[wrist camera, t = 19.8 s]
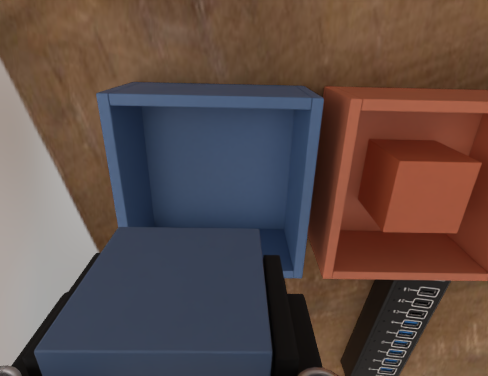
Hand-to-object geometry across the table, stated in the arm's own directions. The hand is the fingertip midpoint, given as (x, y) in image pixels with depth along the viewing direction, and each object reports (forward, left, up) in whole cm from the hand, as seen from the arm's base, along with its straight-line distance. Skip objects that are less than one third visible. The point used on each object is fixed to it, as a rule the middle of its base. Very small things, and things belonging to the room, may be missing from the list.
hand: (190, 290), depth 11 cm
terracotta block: (-13, 0, -12) cm, 18 cm away
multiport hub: (-15, +14, -13) cm, 24 cm away
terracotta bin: (-13, 0, -13) cm, 18 cm away
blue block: (0, 0, 0) cm, 0 cm away
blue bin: (0, 0, -13) cm, 13 cm away
